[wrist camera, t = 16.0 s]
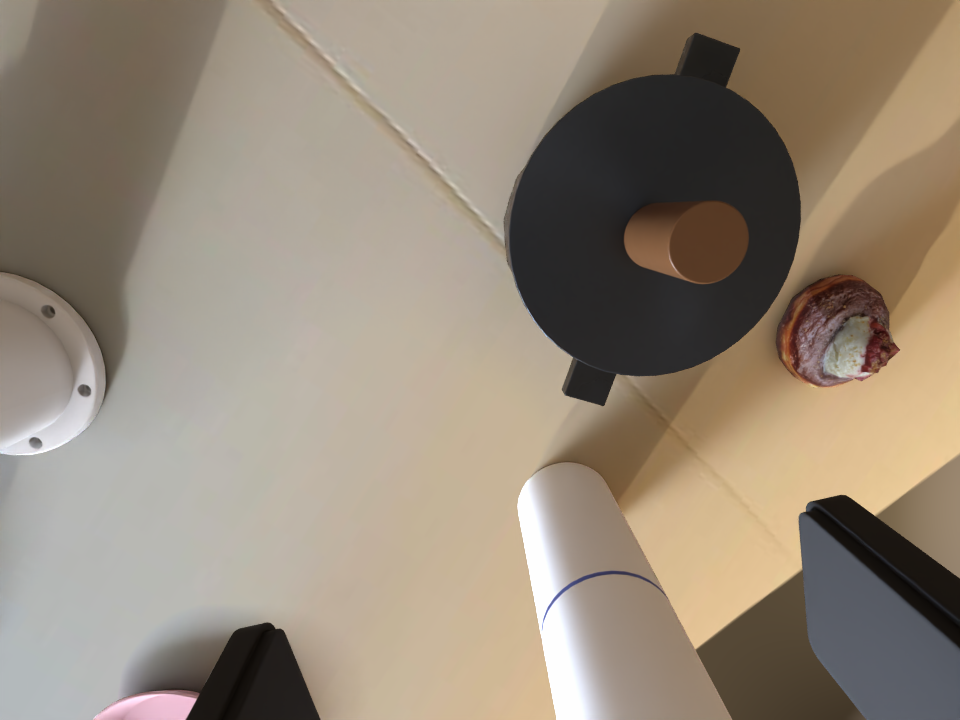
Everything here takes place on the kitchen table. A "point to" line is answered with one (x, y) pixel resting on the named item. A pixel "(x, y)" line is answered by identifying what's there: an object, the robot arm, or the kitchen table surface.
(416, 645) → the kitchen table surface
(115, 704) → the plate
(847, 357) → the pastry
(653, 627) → the cylindrical container
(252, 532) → the kitchen table surface
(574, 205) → the lid
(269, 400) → the kitchen table surface
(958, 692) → the robot arm
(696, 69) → the pot
